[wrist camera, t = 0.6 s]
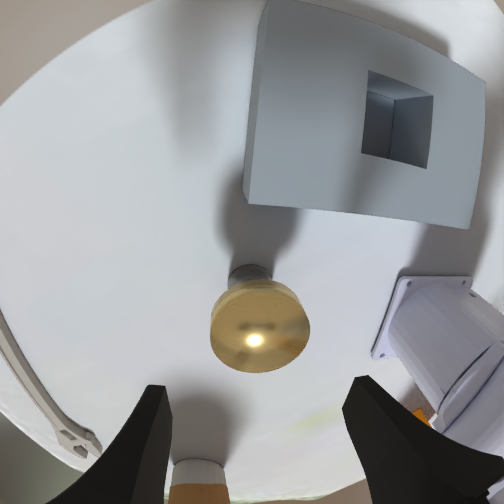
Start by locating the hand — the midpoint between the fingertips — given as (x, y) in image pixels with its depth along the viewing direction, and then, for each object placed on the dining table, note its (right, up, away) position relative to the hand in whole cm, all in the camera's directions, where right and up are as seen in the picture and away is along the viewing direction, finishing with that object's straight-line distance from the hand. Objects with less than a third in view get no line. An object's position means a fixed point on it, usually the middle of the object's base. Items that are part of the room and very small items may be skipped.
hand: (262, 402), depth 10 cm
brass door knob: (-1, +4, +9) cm, 9 cm away
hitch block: (+6, +14, +5) cm, 16 cm away
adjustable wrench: (-22, -9, +12) cm, 27 cm away
